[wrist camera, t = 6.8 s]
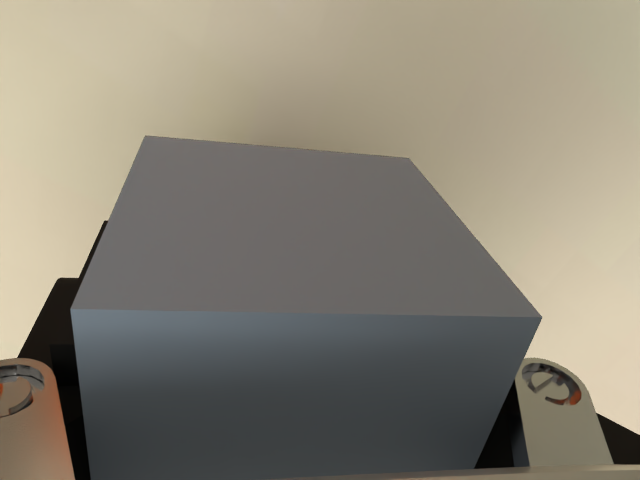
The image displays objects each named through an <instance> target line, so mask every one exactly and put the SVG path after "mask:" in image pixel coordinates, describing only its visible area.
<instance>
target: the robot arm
mask: <svg viewBox="0 0 640 480" xmlns="http://www.w3.org/2000/svg"><path fill="white" fill-rule="evenodd" d="M107 223H108V221H104V223H103V225H102V227H101V229H100V231H99V234H98V236H97V238H96V240H95V243H94V245H93V247H92V249H91V252H90V254H89V256H88V258H87V260H86V263H85V265H84V267H83V269H82V272H81V274H80V276H79V278H59V279H58V280H57V281H56V283H55V285H54V287H53V289H52V290H51V292H50V294H49V296H48V298H47V300H46V302H45V304H44V306H43V308H42V310H41V312H40V314H39V316H38V318H37V320H36V322H35V324H34V326H33V328H32V330H31V332H30V334H29V336H28V338H27V340H26V342H25V343H24V345H23V347H22V349H21V351H20V353H19V355H18V357H17V358H13V359H5V360H0V480H91V476H90V468H89V459H88V451H87V443H86V435H85V426H84V418H83V410H82V401H81V393H80V385H79V376H78V368H77V360H76V351H75V343H74V335H73V327H72V318H71V310H70V309H71V307H72V304H73V302H74V300H75V297H76V295H77V293H78V290H79V288H80V286H81V283H82V281H83V279H84V276H85V274H86V272H87V269H88V267H89V265H90V262H91V260H92V258H93V255H94V253H95V251H96V248H97V246H98V244H99V241H100V239H101V237H102V234H103V232H104V230H105V228H106V225H107ZM262 480H640V435H638V434H636V433H634V432H633V431H631V430H629V429H627V428H625V427H623V426H621V425H619V424H617V423H615V422H613V421H611V420H609V419H607V418H605V417H604V416H602V415H600V414H598V413H596V411H595V409H594V406H593V403H592V400H591V397H590V394H589V392H588V390H587V388H586V386H585V385H584V384H583V382H582V381H581V380H580V379H579V378H578V377H577V376H576V375H574V374H573V373H572V372H570V371H569V370H568V369H566V368H564V367H562V366H561V365H559V364H557V363H554V362H551V361H549V360H546V359H540V358H525V359H523V361H522V363H521V366H520V368H519V370H518V372H517V374H516V377H515V379H514V381H513V383H512V385H511V388H510V390H509V392H508V394H507V396H506V399H505V401H504V403H503V405H502V408H501V410H500V412H499V414H498V416H497V419H496V421H495V423H494V425H493V427H492V430H491V432H490V434H489V436H488V438H487V441H486V443H485V445H484V447H483V450H482V452H481V454H480V456H479V458H478V461H477V463H476V465H475V467H474V469H463V470H441V471H419V472H399V473H379V474H359V475H339V476H320V477H300V478H281V479H262Z"/></svg>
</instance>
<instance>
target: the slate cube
mask: <svg viewBox="0 0 640 480" xmlns="http://www.w3.org/2000/svg"><path fill="white" fill-rule="evenodd" d="M70 310H71V318H72V327H73V335H74V343H75V351H76V360H77V368H78V376H79V385H80V393H81V401H82V410H83V418H84V426H85V435H86V443H87V451H88V459H89V468H90V476H91V480H262V479H281V478H300V477H320V476H339V475H359V474H379V473H399V472H419V471H441V470H463V469H474V467H475V465H476V463H477V461H478V458H479V456H480V454H481V452H482V450H483V447H484V445H485V443H486V441H487V438H488V436H489V434H490V432H491V430H492V427H493V425H494V423H495V421H496V419H497V416H498V414H499V412H500V410H501V408H502V405H503V403H504V401H505V399H506V396H507V394H508V392H509V390H510V388H511V385H512V383H513V381H514V379H515V377H516V374H517V372H518V370H519V368H520V366H521V363H522V361H523V359H524V357H525V355H526V352H527V350H528V348H529V346H530V343H531V341H532V339H533V337H534V335H535V332H536V330H537V328H538V326H539V324H540V321H541V319H542V316H541V315H540V314H539V313H538V312H537V310H536V309H535V308H534V307H533V306H532V304H531V303H530V302H529V301H528V300H527V298H526V297H525V296H524V295H523V294H522V292H521V291H520V290H519V289H518V288H517V287H516V285H515V284H514V283H513V282H512V281H511V279H510V278H509V277H508V276H507V275H506V273H505V272H504V271H503V270H502V269H501V267H500V266H499V265H498V264H497V263H496V261H495V260H494V259H493V258H492V257H491V256H490V254H489V253H488V252H487V251H486V250H485V248H484V247H483V246H482V245H481V244H480V242H479V241H478V240H477V239H476V238H475V236H474V235H473V234H472V233H471V232H470V231H469V229H468V228H467V227H466V226H465V225H464V223H463V222H462V221H461V220H460V219H459V217H458V216H457V215H456V214H455V213H454V211H453V210H452V209H451V208H450V207H449V205H448V204H447V203H446V202H445V201H444V200H443V198H442V197H441V196H440V195H439V194H438V192H437V191H436V190H435V189H434V188H433V186H432V185H431V184H430V183H429V182H428V180H427V179H426V178H425V177H424V176H423V174H422V173H421V172H420V171H419V170H418V169H417V167H416V166H415V165H414V164H413V163H412V161H411V160H410V159H409V158H401V157H389V156H377V155H366V154H354V153H342V152H331V151H319V150H307V149H296V148H284V147H272V146H261V145H249V144H237V143H226V142H214V141H202V140H191V139H179V138H167V137H156V136H145V137H144V139H143V141H142V144H141V146H140V148H139V151H138V153H137V155H136V158H135V160H134V162H133V165H132V167H131V169H130V172H129V174H128V176H127V179H126V181H125V183H124V186H123V188H122V190H121V193H120V195H119V197H118V200H117V202H116V204H115V207H114V209H113V211H112V214H111V216H110V218H109V221H108V223H107V225H106V228H105V230H104V232H103V234H102V237H101V239H100V241H99V244H98V246H97V248H96V251H95V253H94V255H93V258H92V260H91V262H90V265H89V267H88V269H87V272H86V274H85V276H84V279H83V281H82V283H81V286H80V288H79V290H78V293H77V295H76V297H75V300H74V302H73V304H72V307H71V309H70Z"/></svg>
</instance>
